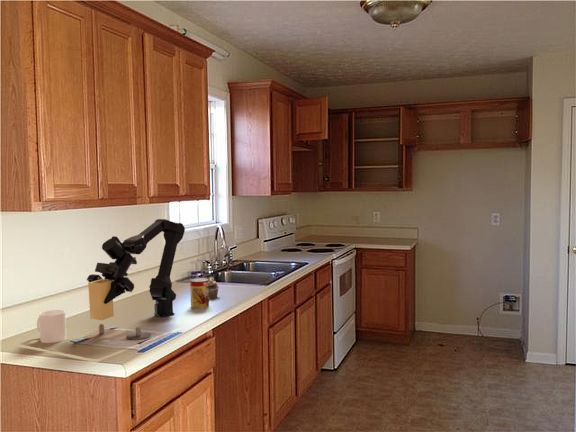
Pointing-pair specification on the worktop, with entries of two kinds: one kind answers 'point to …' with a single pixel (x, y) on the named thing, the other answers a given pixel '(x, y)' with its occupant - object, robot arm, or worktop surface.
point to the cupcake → (212, 287)
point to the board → (120, 334)
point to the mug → (52, 326)
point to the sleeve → (100, 300)
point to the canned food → (199, 293)
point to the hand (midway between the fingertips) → (98, 302)
